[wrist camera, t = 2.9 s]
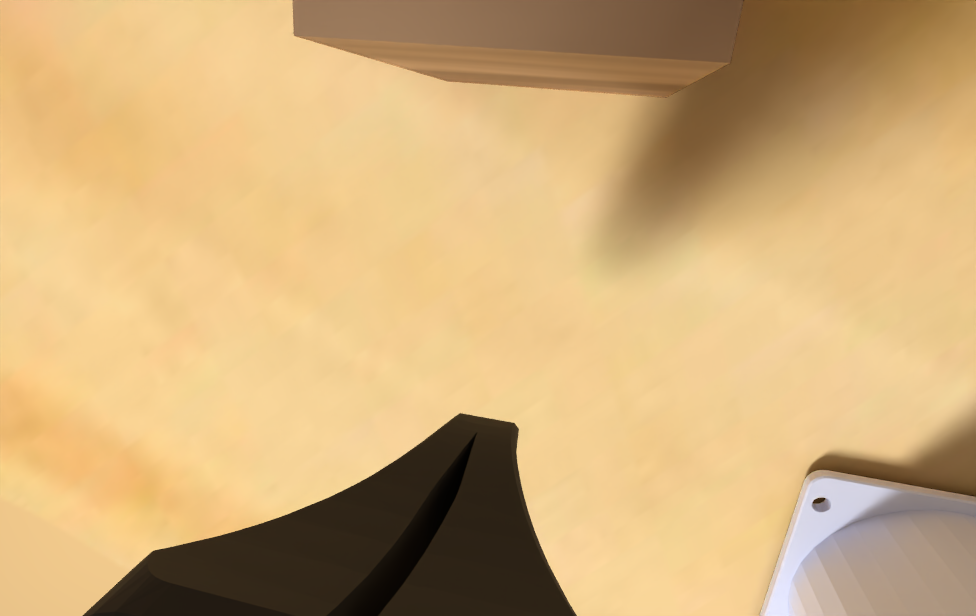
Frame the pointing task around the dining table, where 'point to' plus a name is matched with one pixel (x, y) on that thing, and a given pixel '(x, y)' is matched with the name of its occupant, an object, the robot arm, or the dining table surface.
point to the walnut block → (535, 40)
